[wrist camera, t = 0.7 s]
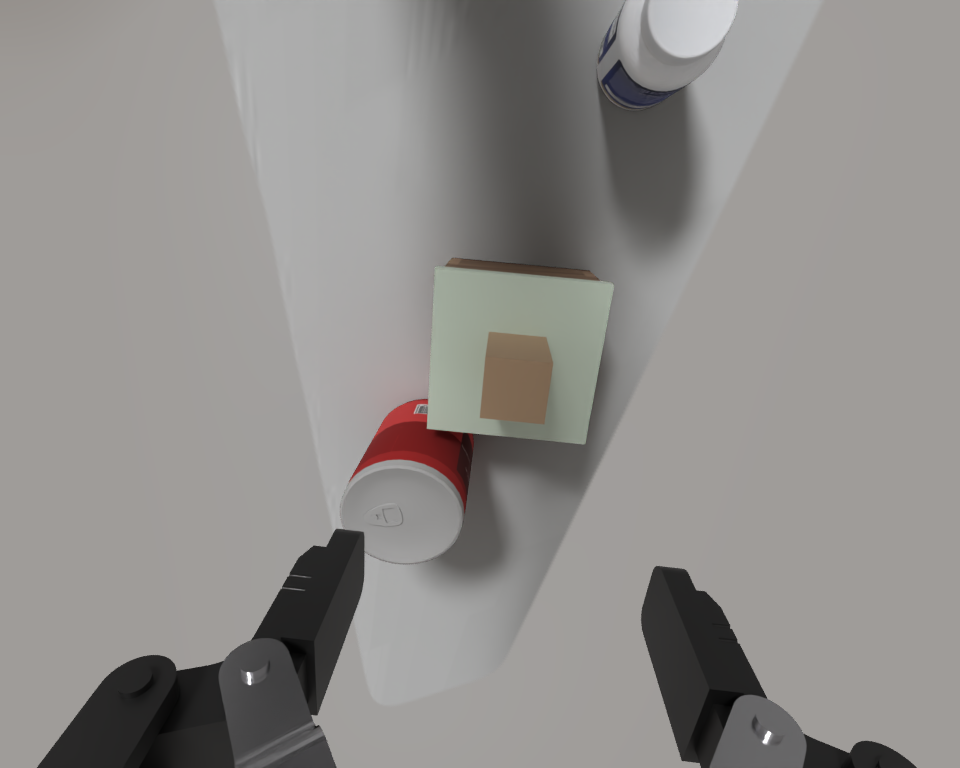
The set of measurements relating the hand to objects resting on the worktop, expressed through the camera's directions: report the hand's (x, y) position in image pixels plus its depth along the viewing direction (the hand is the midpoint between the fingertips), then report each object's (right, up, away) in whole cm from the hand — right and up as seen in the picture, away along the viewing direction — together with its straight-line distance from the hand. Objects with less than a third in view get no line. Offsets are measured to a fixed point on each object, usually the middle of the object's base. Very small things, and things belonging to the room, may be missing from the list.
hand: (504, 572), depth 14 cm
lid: (+1, +7, +18) cm, 19 cm away
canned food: (-5, +1, +28) cm, 28 cm away
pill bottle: (+9, +26, +18) cm, 32 cm away
